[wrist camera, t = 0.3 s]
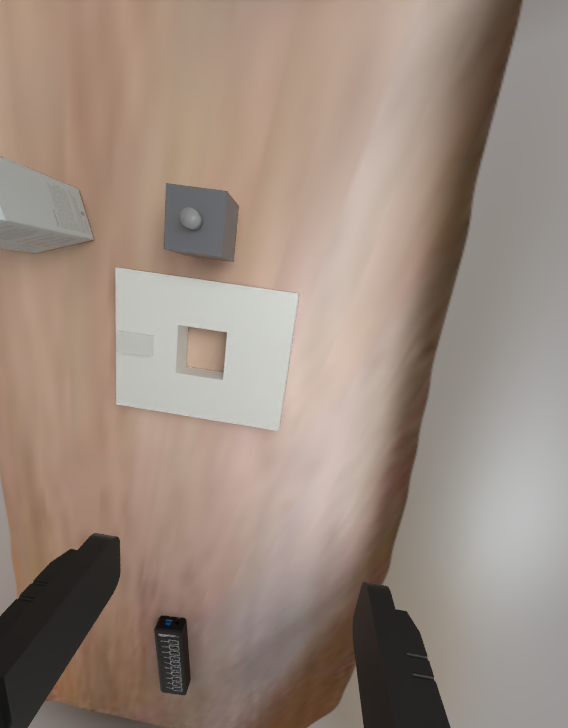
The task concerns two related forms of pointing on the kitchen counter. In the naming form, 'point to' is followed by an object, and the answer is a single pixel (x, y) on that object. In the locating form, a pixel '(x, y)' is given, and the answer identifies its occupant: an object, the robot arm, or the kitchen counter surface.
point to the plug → (200, 222)
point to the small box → (38, 211)
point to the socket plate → (169, 347)
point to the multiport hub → (172, 654)
